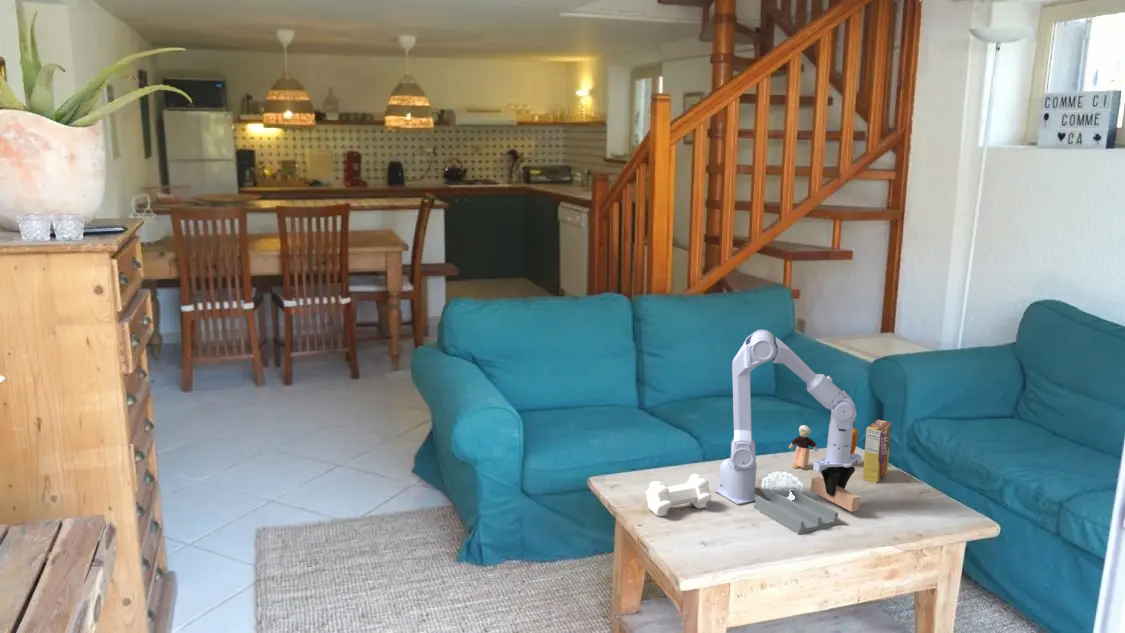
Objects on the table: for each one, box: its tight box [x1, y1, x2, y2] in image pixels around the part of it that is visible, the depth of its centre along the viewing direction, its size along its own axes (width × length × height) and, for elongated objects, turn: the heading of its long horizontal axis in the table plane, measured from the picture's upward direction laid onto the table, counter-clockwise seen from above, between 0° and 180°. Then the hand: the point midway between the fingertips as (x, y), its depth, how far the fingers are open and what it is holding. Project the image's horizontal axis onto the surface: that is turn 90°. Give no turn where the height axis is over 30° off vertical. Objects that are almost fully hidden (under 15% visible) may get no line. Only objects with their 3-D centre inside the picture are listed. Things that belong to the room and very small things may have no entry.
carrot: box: [850, 418, 859, 454], centre depth 244 cm, size 5×5×15 cm
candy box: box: [862, 419, 892, 484], centre depth 236 cm, size 9×4×15 cm, turn 141°
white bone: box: [645, 473, 712, 518], centre depth 214 cm, size 15×9×8 cm, turn 115°
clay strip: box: [810, 476, 861, 513], centre depth 217 cm, size 14×2×4 cm, turn 28°
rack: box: [753, 489, 840, 535], centre depth 212 cm, size 16×13×3 cm
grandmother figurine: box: [788, 424, 819, 471], centre depth 242 cm, size 8×4×13 cm, turn 81°
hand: (834, 493), depth 217 cm, fingers closed on clay strip, 2 cm apart
